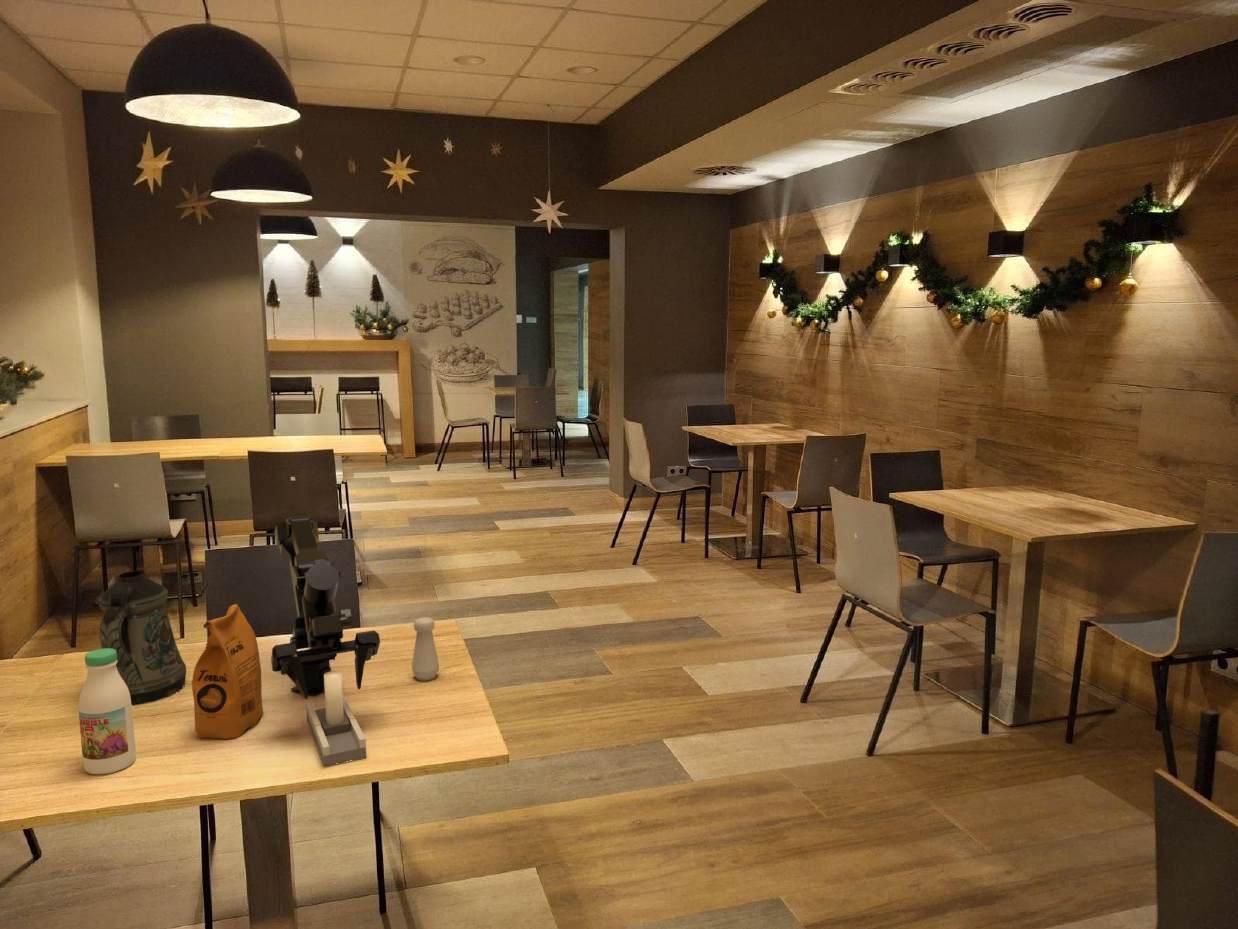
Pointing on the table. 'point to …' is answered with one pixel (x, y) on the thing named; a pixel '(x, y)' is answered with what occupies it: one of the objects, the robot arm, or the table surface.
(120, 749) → the milk bottle
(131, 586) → the beer stein
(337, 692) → the fader slider
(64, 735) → the table surface
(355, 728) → the fader console
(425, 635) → the salt shaker
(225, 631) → the coffee package
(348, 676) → the table surface
